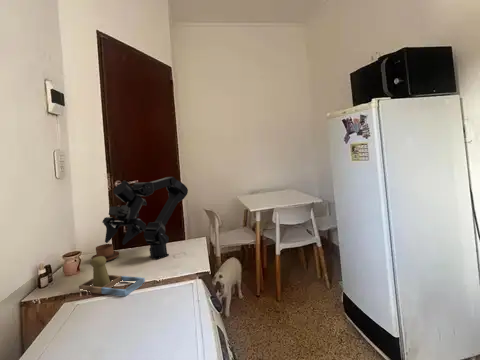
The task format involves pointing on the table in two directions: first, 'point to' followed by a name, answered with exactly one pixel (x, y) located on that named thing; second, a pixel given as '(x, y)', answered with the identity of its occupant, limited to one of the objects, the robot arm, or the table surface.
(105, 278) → the olive green tapered cylinder
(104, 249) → the brown hat
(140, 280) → the two-pocket rack
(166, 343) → the table surface
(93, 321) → the table surface
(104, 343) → the table surface
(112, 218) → the robot arm
